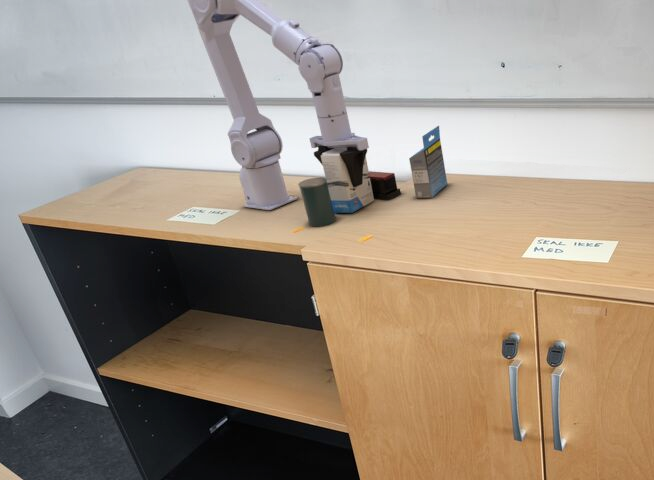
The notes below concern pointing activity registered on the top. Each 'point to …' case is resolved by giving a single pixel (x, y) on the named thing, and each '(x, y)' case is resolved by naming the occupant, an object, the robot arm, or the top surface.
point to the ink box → (345, 183)
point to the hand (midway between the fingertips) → (347, 184)
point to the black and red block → (383, 185)
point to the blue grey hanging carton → (429, 167)
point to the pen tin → (317, 201)
